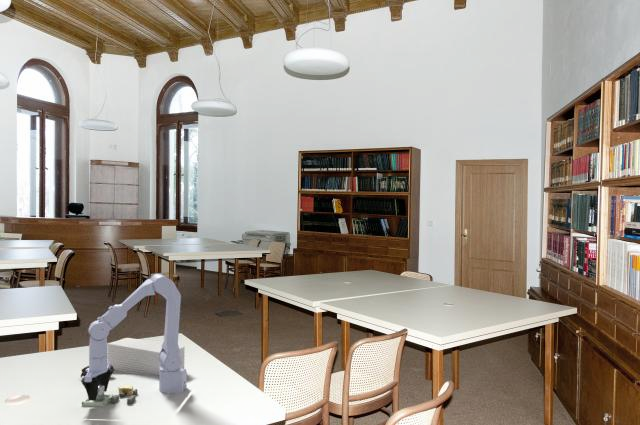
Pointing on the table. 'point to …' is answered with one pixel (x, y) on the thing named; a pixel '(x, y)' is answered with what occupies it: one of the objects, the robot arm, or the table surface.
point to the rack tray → (91, 403)
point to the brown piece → (86, 372)
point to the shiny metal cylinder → (100, 393)
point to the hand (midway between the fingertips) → (97, 395)
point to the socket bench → (116, 397)
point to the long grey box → (137, 356)
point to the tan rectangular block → (126, 390)
